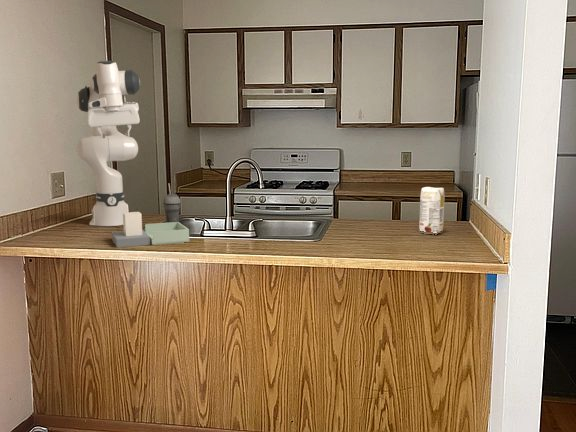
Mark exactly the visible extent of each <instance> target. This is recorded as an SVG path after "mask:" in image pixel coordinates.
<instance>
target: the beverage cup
mask: <svg viewBox="0 0 576 432" xmlns="http://www.w3.org/2000/svg"><path fill="white" fill-rule="evenodd" d="M168 193H169V194H168ZM168 193H167V195H166V196H165V197H164V199H163V204H162V205H163V207H164V214H165V221H166V222H165V223H170V222H179V223H180V208H181V204H182V203H181V199H180V197H179V195H177V194H176V193H171V185H170V183H168Z"/></svg>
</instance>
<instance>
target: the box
mask: <svg viewBox="0 0 576 432" xmlns="http://www.w3.org/2000/svg"><path fill="white" fill-rule="evenodd" d="M144 229H145V230H144V231H145V232H146V233H147V234H148V235H149V236H150V245H152V246H157V245H158V246H159V245H170V244H171V245H172V244H174V245H175V244H183V243H184V242H187V243H190V229H189V228H188V227H187V226H185V225H183V224H182V223H181V222H180V221H179V222H170V223H166V222H160V223H159V222H158V223H144Z"/></svg>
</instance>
